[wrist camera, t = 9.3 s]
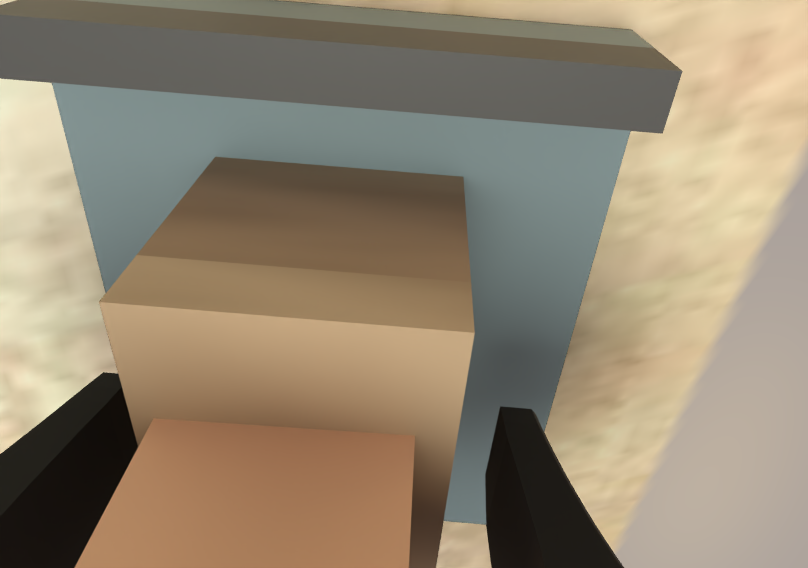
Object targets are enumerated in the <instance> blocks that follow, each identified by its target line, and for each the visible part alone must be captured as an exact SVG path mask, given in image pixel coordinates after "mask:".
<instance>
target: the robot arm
mask: <svg viewBox="0 0 808 568" xmlns="http://www.w3.org/2000/svg"><path fill="white" fill-rule="evenodd" d="M137 449H138V444H137V441H136V437H135V433H134V430H133V426H132V422H131V418H130V415H129V411H128V407H127V404H126V400H125V396H124V393H123V389H122V385H121V382H120V378H119V374H115V373H104V372H103V373H102V374H101V375H100V376H98V377H97V378H96V379H94V380H93V381H92V382H91V383H89V384H88V385H87V386H86V387H84V388H83V389H82V390H81V391H79V392H78V393H77V394H76V395H74V396H73V397H72V398H71V399H69V400H68V401H67V402H66V403H65V404H63V405H62V406H61V407H60V408H58V409H57V410H56V411H55V412H53V413H52V414H51V415H50V416H48V417H47V418H46V419H45V420H43V421H42V422H41V423H40V424H38V425H37V426H36V427H35V428H33V429H32V430H31V431H29V432H28V433H27V434H26V435H24V436H23V437H22V438H20V439H19V440H18V441H17V442H15V443H14V444H13V445H12V446H10V447H9V448H8V449H6V450H5V451H4V452H3V453H1V454H0V568H75V566H76V564H77V562H78V560H79V558H80V556H81V555H82V553H83V551H84V549H85V547H86V545H87V543H88V541H89V539H90V538H91V536H92V534H93V532H94V530H95V528H96V526H97V524H98V522H99V521H100V519H101V517H102V515H103V513H104V511H105V509H106V507H107V505H108V504H109V502H110V500H111V498H112V496H113V494H114V492H115V490H116V488H117V486H118V485H119V483H120V481H121V479H122V477H123V475H124V473H125V471H126V469H127V468H128V466H129V464H130V462H131V460H132V458H133V456H134V454H135V452H136V451H137ZM485 492H486V526H487V535H488V543H489V550H490V558H491V566H492V568H624V567H623V566H622V564H621V563H620V561H619V560H618V558H617V557H616V555H615V554H614V552H613V551H612V549H611V548H610V546H609V545H608V543H607V542H606V540H605V539H604V537H603V536H602V534H601V533H600V531H599V530H598V528H597V526H596V525H595V523H594V522H593V520H592V518H591V517H590V515H589V514H588V512H587V510H586V509H585V507H584V505H583V503H582V502H581V500H580V498H579V497H578V495H577V493H576V492H575V490H574V488H573V486H572V485H571V483H570V481H569V479H568V478H567V476H566V474H565V472H564V470H563V468H562V467H561V465H560V463H559V461H558V459H557V457H556V455H555V453H554V451H553V449H552V447H551V445H550V443H549V441H548V439H547V437H546V435H545V433H544V431H543V429H542V427H541V425H540V422H539V420H538V418H537V416H536V414H535V412H534V411H533V410H532V409H526V408H514V407H503V406H500V409H499V414H498V419H497V423H496V428H495V432H494V437H493V441H492V446H491V450H490V455H489V460H488V464H487V469H486V473H485Z"/></svg>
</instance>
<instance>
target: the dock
mask: <svg viewBox="0 0 808 568" xmlns="http://www.w3.org/2000/svg"><path fill="white" fill-rule="evenodd" d="M681 74H682V70H680V69H679V68H678V67H677V66H675V65H674V64H673V63H672V62H671V61H669V60H668V59H667V58H666V57H664V56H663V55H662V54H661V53H660V52H658V51H657V50H656V49H655V48H653V47H652V46H651V45H650V44H649V43H647V42H646V41H645V40H644V39H642V38H641V37H640V36H639V35H638V34H636V33H635V32H634V31H633V30H628V29H616V28H604V27H592V26H579V25H567V24H555V23H543V22H531V21H519V20H507V19H495V18H482V17H470V16H458V15H446V14H434V13H422V12H410V11H398V10H385V9H373V8H361V7H349V6H337V5H325V4H313V3H301V2H289V1H276V0H16V1H13V2H10V3H6V4H3V5H0V78H2V79H14V80H26V81H38V82H50V83H52V85H53V89H54V93H55V96H56V100H57V104H58V108H59V112H60V116H61V120H62V124H63V128H64V132H65V136H66V139H67V143H68V147H69V151H70V155H71V159H72V163H73V167H74V171H75V175H76V179H77V182H78V186H79V190H80V194H81V198H82V202H83V206H84V210H85V214H86V218H87V221H88V225H89V229H90V233H91V237H92V241H93V245H94V249H95V253H96V257H97V261H98V264H99V268H100V272H101V276H102V280H103V284H104V288H105V292H106V293H107V291H108V290H109V289H110V288H111V286H112V285H113V284H114V283H115V281H116V280H117V279H118V278H119V276H120V275H121V274H122V273H123V271H124V270H125V269H126V268H127V266H128V265H129V264H130V263H131V261H132V260H133V259H134V258H135V256H136V255H137V254H138V253H139V251H140V250H141V249H142V248H143V246H144V245H145V244H146V243H147V241H148V240H149V239H150V238H151V236H152V235H153V234H154V233H155V231H156V230H157V229H158V228H159V226H160V225H161V224H162V223H163V221H164V220H165V219H166V218H167V216H168V215H169V214H170V213H171V211H172V210H173V209H174V208H175V206H176V205H177V204H178V203H179V201H180V200H181V199H182V198H183V196H184V195H185V194H186V193H187V191H188V190H189V189H190V188H191V186H192V185H193V184H194V183H195V181H196V180H197V179H198V178H199V176H200V175H201V174H202V173H203V171H204V170H205V169H206V168H207V166H208V165H209V164H210V163H211V161H212V160H213V159H214V158H215V157H225V158H238V159H250V160H262V161H275V162H287V163H300V164H312V165H324V166H337V167H349V168H362V169H374V170H387V171H399V172H411V173H424V174H436V175H449V176H461V177H463V179H464V193H465V206H466V220H467V234H468V248H469V261H470V275H471V289H472V303H473V316H474V330H475V334H474V340H473V346H472V352H471V358H470V364H469V370H468V376H467V382H466V388H465V394H464V400H463V406H462V412H461V418H460V424H459V431H458V437H457V443H456V449H455V455H454V461H453V467H452V473H451V479H450V485H449V491H448V497H447V503H446V509H445V515H444V521H451V522H462V523H474V524H486V492H485V473H486V469H487V464H488V460H489V455H490V450H491V446H492V441H493V437H494V432H495V428H496V423H497V419H498V414H499V409H500V406H503V407H514V408H526V409H532V410H533V411H534V412H535V414H536V416H537V418H538V420H539V422H540V425H541V427H542V429H543V431H545V427H546V424H547V420H548V417H549V413H550V410H551V406H552V403H553V399H554V396H555V392H556V389H557V385H558V382H559V378H560V375H561V371H562V368H563V364H564V361H565V357H566V354H567V350H568V347H569V344H570V340H571V337H572V333H573V330H574V326H575V323H576V319H577V316H578V312H579V309H580V305H581V302H582V298H583V295H584V291H585V288H586V284H587V281H588V277H589V274H590V270H591V267H592V263H593V260H594V256H595V253H596V249H597V246H598V242H599V239H600V235H601V232H602V228H603V225H604V221H605V218H606V214H607V211H608V207H609V204H610V200H611V197H612V193H613V190H614V187H615V183H616V180H617V176H618V173H619V169H620V166H621V162H622V159H623V155H624V152H625V148H626V145H627V141H628V138H629V134H630V131H639V132H651V133H663V130H664V127H665V124H666V121H667V118H668V115H669V112H670V108H671V105H672V102H673V99H674V96H675V93H676V89H677V86H678V83H679V80H680V77H681Z"/></svg>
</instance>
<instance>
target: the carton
mask: <svg viewBox="0 0 808 568" xmlns="http://www.w3.org/2000/svg"><path fill="white" fill-rule="evenodd" d="M414 447H415V436H413V435H397V434H382V433H367V432H352V431H337V430H322V429H307V428H292V427H277V426H262V425H247V424H232V423H217V422H202V421H187V420H172V419H157V418H153V420H152V422H151V424H150V426H149V428H148V430H147V432H146V434H145V435H144V437H143V439H142V441H141V443H140V445H139V447H138V449H137V451H136V452H135V454H134V456H133V458H132V460H131V462H130V464H129V466H128V468H127V469H126V471H125V473H124V475H123V477H122V479H121V481H120V483H119V485H118V486H117V488H116V490H115V492H114V494H113V496H112V498H111V500H110V502H109V504H108V505H107V507H106V509H105V511H104V513H103V515H102V517H101V519H100V521H99V522H98V524H97V526H96V528H95V530H94V532H93V534H92V536H91V538H90V539H89V541H88V543H87V545H86V547H85V549H84V551H83V553H82V555H81V556H80V558H79V560H78V562H77V564H76V566H75V568H409V554H410V532H411V511H412V489H413V468H414Z"/></svg>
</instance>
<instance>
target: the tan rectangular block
mask: <svg viewBox="0 0 808 568" xmlns="http://www.w3.org/2000/svg"><path fill="white" fill-rule="evenodd" d="M99 304H100V308H101V311H102V315H103V319H104V322H105V326H106V330H107V333H108V337H109V341H110V345H111V348H112V352H113V356H114V359H115V363H116V367H117V370H118V374H119V378H120V382H121V385H122V389H123V393H124V396H125V400H126V404H127V407H128V411H129V415H130V418H131V422H132V426H133V430H134V433H135V437H136V441H137V444H138V447H139V445H140V443H141V441H142V439H143V437H144V435H145V434H146V432H147V430H148V428H149V426H150V424H151V422H152V420H153V418H157V419H172V420H187V421H202V422H217V423H232V424H247V425H262V426H277V427H292V428H307V429H322V430H337V431H352V432H367V433H382V434H397V435H413V436H415V447H414V468H413V489H412V511H411V532H410V554H409V568H436V563H437V557H438V551H439V545H440V539H441V533H442V527H443V521H444V515H445V509H446V503H447V497H448V491H449V485H450V479H451V473H452V467H453V461H454V455H455V449H456V443H457V437H458V431H459V424H460V418H461V412H462V406H463V400H464V394H465V388H466V382H467V376H468V370H469V364H470V358H471V352H472V346H473V340H474V334H475V330H474V316H473V303H472V289H471V275H470V261H469V248H468V234H467V220H466V206H465V193H464V179H463V177H461V176H449V175H436V174H424V173H411V172H399V171H387V170H374V169H362V168H349V167H337V166H324V165H312V164H300V163H287V162H275V161H262V160H250V159H238V158H225V157H215V158H214V159H213V160H212V161H211V163H210V164H209V165H208V166H207V168H206V169H205V170H204V171H203V173H202V174H201V175H200V176H199V178H198V179H197V180H196V181H195V183H194V184H193V185H192V186H191V188H190V189H189V190H188V191H187V193H186V194H185V195H184V196H183V198H182V199H181V200H180V201H179V203H178V204H177V205H176V206H175V208H174V209H173V210H172V211H171V213H170V214H169V215H168V216H167V218H166V219H165V220H164V221H163V223H162V224H161V225H160V226H159V228H158V229H157V230H156V231H155V233H154V234H153V235H152V236H151V238H150V239H149V240H148V241H147V243H146V244H145V245H144V246H143V248H142V249H141V250H140V251H139V253H138V254H137V255H136V256H135V258H134V259H133V260H132V261H131V263H130V264H129V265H128V266H127V268H126V269H125V270H124V271H123V273H122V274H121V275H120V276H119V278H118V279H117V280H116V281H115V283H114V284H113V285H112V286H111V288H110V289H109V290H108V291H107V293H106V294H105V295H104V296H103V298H102V299H101V300H100V301H99Z"/></svg>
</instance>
